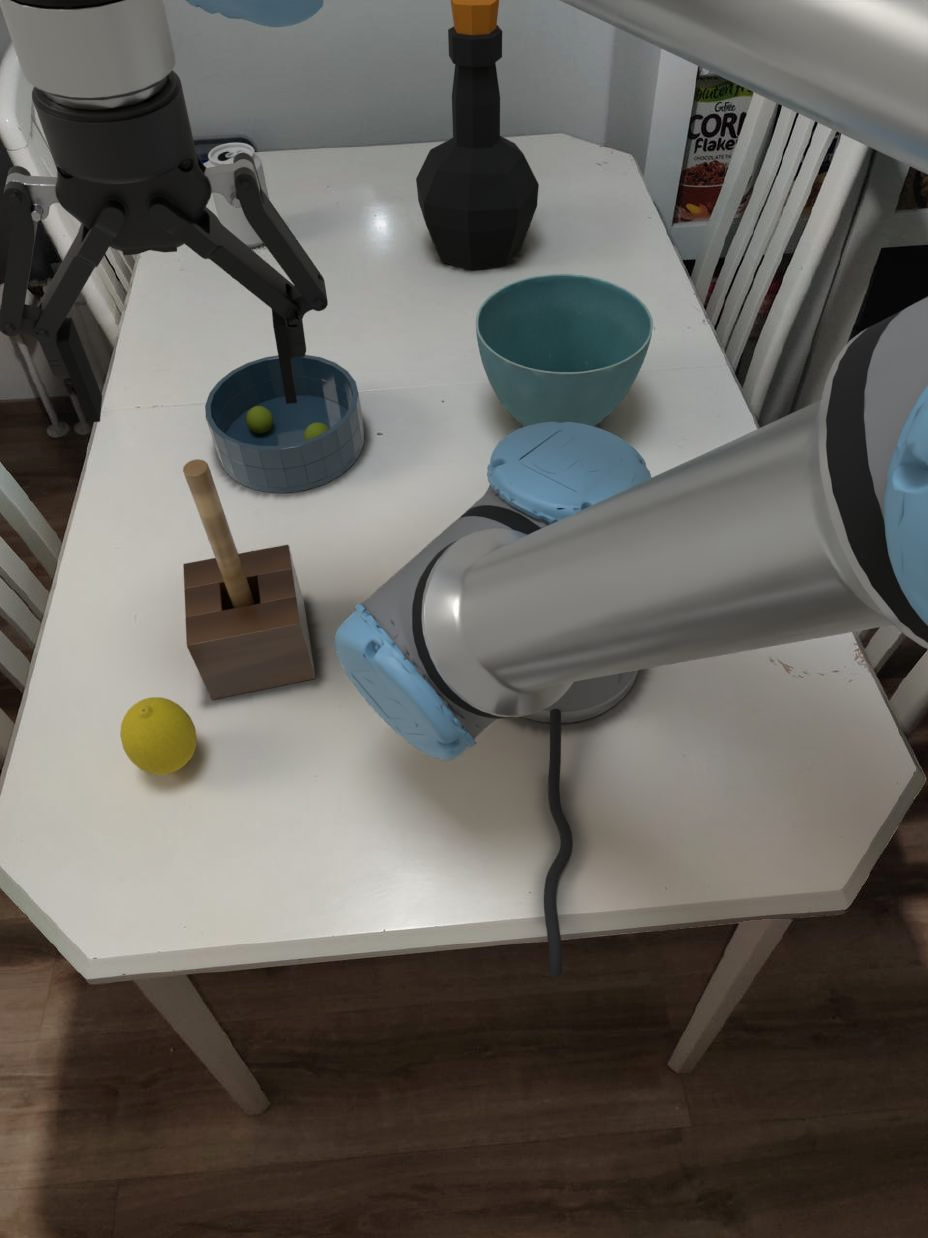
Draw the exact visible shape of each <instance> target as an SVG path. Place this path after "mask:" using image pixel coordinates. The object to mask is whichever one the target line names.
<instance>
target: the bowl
mask: <svg viewBox="0 0 928 1238" xmlns="http://www.w3.org/2000/svg"><path fill="white" fill-rule="evenodd" d="M291 360H292V366H293V373H294V379H295V388H296V398H297V403H291V404H286V398H285V392H284V386H283V380H282V375H281V369H280V363H279V357H278V354H277V355H272V356H265V357H262V358H258V359H255V360H252V361H250V362H245V364H242V365H240V366H238V367H237V368H234V369H233V370H231V371H230V372H228V373H227V374H226V375H224V376H223V377H222V378H221V379H220V380H218V381H217V383H215V385H214V386H213V388H212V389H211V390H210V392H209V393H208V396H207V399H206V402H205V405H204V410H205V421H206V423H207V426H208V429H209V432H210V435H211V438H212V441H213V445H214V447H215V450H216V454H217V456H218V459H219V461H220V463H221V466H222V468H223V469H224V471H225V472H226V473H227V475H228V476H230V477H231V479H233V480H234V481H236V482H237V483H238V484H241V485H243V486H244V487H247V488H249V489H252V490H254V491H255V490H256V491H260V492H264V493H273V494H274V493H275V494H286V493H288V494H289V493H297V492H303V491H307V490H311V489H315V488H317V487H320V486H323V485H325V484H327V483H330V482H331V481H333V480H335V479H337V478H338V477H340V476H342V475H343V474H344V473H345V472H347V471H348V470H349V469H350V468H351V467H352V466H353V465H354V464H355V462H357V460H358V458H359V456H360V455H361V454H362V453H361V452H362V450H363V447H364V443H365V428H364V422H363V421H364V420H363V415H362V408H361V401H360V394H359V389H358V386H357V382H356V380H355V379H354V377H353V376H352V375H351V373H350V372H349V371H348V370H347V369H345V368H344V367H343V366H341V365H340V364H338V363H337V362H334V361H332V360H329V359H327V358H324V357H320V356H317V355H310V354H305V356H304V357H298V358H291ZM255 406H262V407H265V408H267V409H268V410H269V411H270V412H271V414H272V416H273V425H272V427H271V429H270V430H269V431H268V432H266V433H263V434H257V433H254V432H252V431H251V430H250V429H249V428H248V426H247V424H246V414H247V412H248V411H249V410H250V409H251V408H253V407H255ZM316 422H319V423H323V424H325V425H327V426H328V427H329V430H327V431H326V432H324V433H322V434H320V435H319V436H317V437H314V438H311V439H308V440H305V438H304V434H305V430H306V429H307V427H308V426H309V425H311V424H312V423H316Z"/></svg>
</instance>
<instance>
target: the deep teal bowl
mask: <svg viewBox="0 0 928 1238" xmlns="http://www.w3.org/2000/svg"><path fill="white" fill-rule="evenodd" d="M653 320H654V319H653V317H652V315H651V312H650V310H649V309H648V306H646V304H645V303H644V302H643V301H642V300H641V299H640V298H639V297H637V296H636V295H635V294H634V293H633V292H631V291H629V290H628V289H626V288H624V287H622V286H620V285H618V284H615V283H613V282H611V281H608V280H604V279H601V278H597V277H593V276H587V275H582V274H581V275H580V274H572V273H571V274H569V273H553V274H552V273H551V274H542V275H536V276H531V277H526V278H522V279H519V280H516V281H513V282H511V283H509V284H508V283H507V284H506V285H504V286H502V287H501V288H499V289H497V290H496V291H494V292H492V294H491V295H489V296H487V298H486V299H485V300H484V301H483V302H482V303H481V305H480V307H479V309H478V311H477V313H476V318H475V333H476V340H477V347H478V351H479V356H480V360H481V363H482V366H483V369H484V371H485V375H486V377H487V380H488V382H489V384H490V386H491V388H492V390H493V392H494V394H495V395H496V397H497V399H498V400H499V402H500V403H501V405H502V406H503V407H504V408H505V409H506V411H507V412H508V413H509V414H510V415H511V416H512V417H513V418H514V419H515V420H516V421H517V422H518V423H519V424H520V425H521V426H522V427H525V426H528V425H532V424H536V423H543V422H559V423H561V422H575V423H581V424H586V425H590V426H594V427H596V426H597V425H598V424H599V423H600V422H602V421H603V420H604V419H605V418H607V417H608V416H609V415H610V414H612V412H613V411H614V410H615V409H616V408H617V407H618V405H620V403H621V402H622V401H623V400H624V398H625V396H626V395H627V394H628V392H629V391H630V390H631V387H632V386H633V384H634V382H635V381H636V379H637V377H638V375H639V373H640V371H641V369H642V366H643V364H644V362H645V359H646V356H647V354H648V351H649V347H650V344H651V340H652V335H653V330H654V322H653Z"/></svg>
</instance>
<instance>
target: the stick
mask: <svg viewBox="0 0 928 1238" xmlns="http://www.w3.org/2000/svg"><path fill="white" fill-rule="evenodd" d="M182 472H183V475H184V477H185V481H186V483H187V486H188V488H189V491H190V493H191V497H192V499H193V502H194V505H195V507H196V510H197V512H198V515H199V518H200V521H201V524H202V526H203V529H204V531H205V534H206V537H207V540H208V542H209V545H210V547H211V550H212V553H213V556H214V558H215V559H216V561H217V564H218V567H219V569H220V572H221V575H222V577H223V580H224V583H225V586H226V588H227V591H228V594H229V596H230V599H231V602H232V604H233V607H234V608H239V607H245V606H250V605H255V602H254V599H253V596H252V593H251V590H250V587H249V584H248V581H247V578H246V575H245V572H244V569H243V567H242V564H241V561H240V558H239V555H238V554H239V552H238V549H237V546H236V543H235V540H234V537H233V534H232V531H231V528H230V525H229V523H228V520H227V517H226V513H225V511H224V507H223V505H222V502H221V499H220V496H219V493H218V490H217V487H216V484H215V481H214V478H213V475H212V472H211V469H210V466H209V464H208V462H207V461H206V460H203V459H192V460H190V461H188V462H187V463H185V464H184V465H183V467H182Z"/></svg>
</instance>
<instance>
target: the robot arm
mask: <svg viewBox="0 0 928 1238" xmlns="http://www.w3.org/2000/svg"><path fill="white" fill-rule="evenodd" d="M185 1H186V2H187V3H188V4H189V5H190V6H192V7H194V8H200V9H201V10H202V11H204V12H207V13H208V14H211V15H214V14H220V15H221V16H223V17H225V18H227V19H230V20H231V19H233V20H244V21H248V22H249V23H253V24H255V25H259V26H263V27H268V28H287V27H292V26H295V25H298V24H301V23H303V22H305V21H308V20H309V19H311V18H312V17H314V16H315V15H316V14H318V13H319V11H320V10H321V9H322V8H323V6H324V0H185ZM559 1H560V2H562V3H564V4H567V5H569V6H570V7H573V8H574V9H577V10H579V11H582V12H584V13H585V14H588V15H589V16H592V17H594V18H596V19H597V20H600V21H603V22H604V23H607V24H609V25H610V26H612V27H615V28H618V29H619V30H622V31H624V32H626V33H628V34H629V35H632V36H634V37H636V38H638V39H640V40H642V41H645V42H647V43H649V44H651V45H654V46H655V47H657V48H659V49H662V50H664V51H666V52H667V53H670V54H672V55H674V56H676V57H678V58H681V59H682V60H684V61H687V62H689V63H690V64H693V65H695V66H697V67H699V68H702V69H704V70H706V71H707V72H710V73H712V74H715V75H717V76H719V77H721V78H723V79H724V80H727V81H729V82H731V83H733V84H735V85H737V86H739V87H742V88H744V89H746V90H748V91H750V92H753V93H754V94H757V95H759V96H760V97H763V98H765V99H767V100H769V101H772V102H774V103H776V104H778V105H780V106H782V107H784V108H786V109H789V110H790V111H793V112H795V113H797V114H799V115H801V116H803V117H804V118H807V119H808V120H812V121H814V122H815V123H818V124H819V125H822V126H824V127H827V128H828V129H831V130H833V131H835V132H837V133H839V134H840V135H843V136H845V137H848V138H849V139H852V140H853V141H855V142H857V143H860V144H862V145H864V146H867V147H868V148H871V149H872V150H875V151H877V152H879V153H881V154H883V155H885V156H887V157H890V158H892V159H894V160H896V161H898V162H899V163H900V162H901V163H902V164H904V165H906V166H909V167H910V168H913V169H915V170H917V171H919V172H921V173H924V174H926V175H928V0H559ZM0 10H1V12H2V15H3V18H4V21H5V24H6V27H7V30H8V33H9V36H10V39H11V42H12V45H13V48H14V51H15V54H16V57H17V60H18V63H19V66H20V69H21V72H22V75H23V77H24V78H25V80H26V82H28V83H29V84H30V85H32V86H33V88H32V91H31V100H32V103H33V105H34V108H35V112H36V114H37V117H38V120H39V123H40V126H41V128H42V131H43V134H44V137H45V139H46V143H47V145H48V146H47V147H48V148H49V151H50V155H51V157H52V160H53V164H54V165H55V168H56V176H40V175H32V174H31V173H30V171H29V170H28V169H27V168H25V167H23V166H21V165H13V166H12V167H10V168H9V170H8V172H7V176H6V181H5V185H4V188H3V189H4V190H3V193H2V194H3V196H2V197H3V202H4V206H5V208H6V212H7V217H8V219H9V223H10V226H11V230H10V237H9V244H8V252H7V258H6V259H7V260H6V266H5V274H4V281H3V288H2V296H1V304H0V332H1V334H3V335H5V336H7V337H17V336H18V335H19V334H23V335H27V336H30V337H33V338H34V339H35V340H37V341H38V343H39V346H40V348H41V350H42V352H43V354H44V357H45V359H46V361H47V363H48V365H49V367H50V370H51V373H52V374H53V376H55V378H57V379H58V380H63V379H70V382H71V383H72V386H73V389H74V390H75V393H76V395H77V398H78V400H79V403H80V405H81V407H82V410H83V412H84V414H85V418H86V419H87V422H88V424H89V423H100V422H101V415H102V405H103V394H102V392H101V390H100V389H101V388H100V386H99V384H98V382H97V379H96V376H95V374H94V371H93V369H92V365H91V363H90V361H89V359H88V358H89V357H88V356H87V353H86V351H85V348H84V345H83V343H82V341H81V338H80V335H79V333H78V330H77V327H76V324H75V322H74V320H73V317H72V316H71V317H67V316H68V314H69V313H70V312H71V310H72V307H73V306H74V304H75V302H76V300H77V299H78V297H79V296H80V294H81V292H82V290H83V289H84V287H85V286H86V284H87V282H88V281H89V279H90V276H91V275H92V273H93V271H94V270H95V268H97V267H98V266H99V265H100V264H101V262H102V260H103V259H104V258H105V257H104V256H105V255H106V254H107V252H108V250H109V248H112V249H113V250H116V251H119V252H122V254H123V256H134V255H139V254H142V253H145V252H148V251H152V252H153V251H154V252H158V253H177V252H178V248H180V247H181V246H183V245H186V246H187V247H188V248H189V249H191V251H193V252H194V253H195V254H197V255H198V256H199V257H201V258H202V259H204V260H210V261H211V262H212V263H214V264H215V265H216V266H217V267H219V268H220V269H221V270H223V271H224V272H225V273H226V274H228V276H230V277H231V278H232V279H234V280H235V281H236V282H237V283H239V284H240V285H241V286H242V287H244V288H245V289H246V290H248V291H249V292H250V293H251V294H252V295H254V296H255V297H256V298H258V299H259V300H260V301H261V302H263V303H264V304H265V306H267V307H269V308H270V309H271V315H272V316H271V318H272V326H273V327H272V328H273V332H274V333H273V334H274V338H275V345H276V350H277V355H278V357H279V363H280V369H281V375H282V380H283V386H284V392H285V398H286V404H291V403H297V398H296V388H295V379H294V373H293V366H292V360H291V358H298V357H304V356H305V355H306V353H307V345H306V336H305V329H304V323H303V322H304V321H303V319H304V316H305V315H306V314H307V313H309V312H311V311H316V312H321V311H324V310H325V309H327V307H328V305H329V303H328V302H329V301H328V296H327V295H328V294H327V289H326V282H325V278H324V276H323V275H322V274H321V272H320V270H319V269H318V267H317V266H316V265H315V263H314V262H313V260H312V259H311V257H310V256H309V254H308V253H307V251H305V249H304V248H303V246H302V245H301V243H300V242H299V240H298V239H297V237H296V236H295V235H294V233H293V231H292V230H291V229H290V227H289V226H288V225H287V223H286V222H285V220H284V219H283V218H282V216H281V215H280V213H279V212H278V210H277V208H275V206H274V204H273V203H272V201H271V200H270V198H269V199H268V197H267V196H266V194H265V193H264V191H263V190H262V188H261V185H260V181H259V177H258V174H257V170H256V167H255V163H254V160H253V158H252V157H251V156H250V155H249V154H247V153H239V154H237V155H236V156H235V157H234V160H233V163H232V164H226V165H221V166H215V167H209V168H206V165H205V164H204V163H203V162H202V160H201V159H200V157H199V154H198V153H197V150H196V146H195V145H196V144H195V142H194V136H193V131H192V127H191V122H190V118H189V117H190V116H189V113H188V109H187V108H188V107H187V103H186V99H185V95H184V90H183V89H184V88H183V85H182V81H181V78H180V77H179V75H178V74H177V73H176V72H175V71H174V70H173V69H174V68H175V65H176V51H175V47H174V42H173V37H172V33H171V30H170V24H169V20H168V15H167V11H166V7H165V1H164V0H0ZM214 192H216V193H220V194H222V195H223V196H224V197H225V198H226V200H227V201H228V203H229V204H230V205H232V206H233V207H235V208H239V207H242V210H243V213H244V215H245V217H246V219H247V221H248V222H249V224H250V225H251V227H252V228H253V230H254V231H255V232H256V234H257V235H258V236H259V238H260V239H261V241H262V242H263V243H264V244H263V245H264V246H265V247H266V250H268V251H269V253H270V255H272V257H273V258H274V260H275V261H276V262H277V264H278V265H279V267H280V268H281V269H282V270H283V272H284V273H285V275H286V276H287V277H288V279H287V278H286V277H284V275H282V274H281V273H280V272H279V271H278V270H276V269H275V268H274V267H273V266H272V265H270V263H268V261H266V260H265V259H264V258H262V257H261V256H260V255H259V254H258V253H256V252H255V251H254V250H253V249H252V248H249V247H248V246H247V245H246V244H244V243H243V242H242V241H241V240H240V239H239V238H237V237H236V236H235V235H234V234H233V233H231V232H230V231H229V230H228V229H227V228H226V227H224V226H223V225H222V224H221V223H220V221H219V218H218V215H216V214H215V213H214V212H213V211H212V210H210V209H209V208H208V204H209V202H210V199H211V198H212V193H214ZM54 204H59V205H60V206H61V208H63V209H64V210H65V211H66V212H67V213H69V214H70V215H71V216H72V217H73V218H74V219H75V220H77V221H78V222H79V223H80V226H79V228H78V232H77V233H76V236H75V237H74V240H73V241H72V243H71V245H70V247H69V249H68V250H67V252H66V254H65V255H64V258H63V259H62V261H61V263H60V265H59V267H58V268H57V270H56V272H55V274H54V275H53V278H52V279H51V281H50V283H49V284H48V287H47V288H46V290H45V292H44V293H43V295H42V298H41V300H39V299H38V300H37V305H31V304H26V299H27V293H28V288H29V287H28V286H29V280H30V274H31V267H32V260H33V256H34V255H33V254H34V250H35V249H34V248H35V242H36V236H37V229H38V223H39V222H40V221H42V220H45V219H47V218H48V216H49V215H50V208H51V206H52V205H54ZM826 377H827V378H826V380H825V382H824V386H823V390H822V393H821V399H820V400H818V401H816V402H814V403H811V404H809V405H807V406H805V407H803V408H800V409H798V410H796V411H793V412H792V413H790V414H786V415H785V416H782V417H781V418H778V419H776V420H775V421H772V422H770V423H768V424H766V425H763V426H761V427H759V428H756V429H755V430H752V431H750V432H748V433H746V434H744V435H742V436H739V437H737V438H735V439H732V440H731V441H728V442H726V443H724V444H722V445H720V446H718V447H716V448H713V449H711V450H709V451H707V452H705V453H702V454H701V455H698V456H696V457H694V458H691V459H689V460H687V461H685V462H682V463H681V464H679V465H676V466H673V467H671V468H670V469H668V470H665V471H664V472H661V473H659V474H657V475H654V476H652V474H651V471H650V469H648V467H647V463H646V461H645V459H644V457H643V455H641V454H640V453H639V451H638V450H637V449H636V448H635V447H634V446H632V445H631V444H630V443H629V442H627V441H626V440H625V439H623V438H622V437H619V436H618V435H616V434H614V433H613V432H610V431H608V430H605V429H603V428H600V427H597V426H590V425H586V424H581V423H575V422H561V423H559V422H543V423H536V424H532V425H528V426H525V427H524V426H522V427H520V428H517V429H515V430H514V431H512V432H509V433H508V434H507V435H505V436H504V437H503V438H502V439H500V440H499V442H498V443H497V444H496V446H495V447H494V448H493V451H492V453H491V456H490V459H489V460H490V461H489V464H488V465H487V468H486V469H487V473H486V476H487V482H488V483H489V484H488V487H487V490H486V491H485V493H484V494H483V495H482V496H481V498H479V499H478V500H477V501H475V503H474V504H473V505H471V506H470V507H469V508H468V509H467V510H466V511H465V512H464V513H463V514H462V515H460V516H459V517H458V518H457V519H455V521H453V522H452V523H451V524H450V525H449V526H447V527H446V528H445V529H444V530H443V531H442V532H441V533H440V534H438V535H437V536H436V537H435V538H433V540H432V541H430V543H428V544H427V545H426V546H425V547H424V548H422V549H421V550H420V551H419V552H418V553H417V554H416V555H415V556H414V557H412V558H411V559H410V560H408V562H407V563H406V564H405V565H403V566H402V567H401V568H400V569H399V570H397V572H396V573H394V575H392V576H391V577H390V578H389V579H388V580H387V581H386V582H384V583H383V584H382V585H381V586H380V587H379V588H378V589H377V590H375V591H374V592H373V593H372V594H371V595H369V596H368V597H367V598H366V599H365V600H364V601H363V602H362V603H361V602H358V603H357V604H355V607H354V610H353V612H352V613H351V614H349V616H348V617H347V618H346V619H345V620H344V621H343V622H342V623H341V624H340V625H339V627H338V628H337V630H336V633H335V636H334V648H335V649H334V650H335V653H336V656H337V659H338V661H339V663H340V665H341V666H342V669H343V671H344V673H345V674H346V676H347V678H348V679H349V681H350V682H351V684H352V685H353V686H354V688H355V689H356V690H357V692H358V693H359V694H360V695H361V697H362V698H363V699H364V700H365V701H366V703H367V704H368V705H369V706H370V708H372V710H373V711H374V712H375V713H376V714H377V715H378V717H380V718H381V719H382V720H383V721H384V722H385V723H386V724H387V725H388V726H389V727H390V728H391V729H392V730H394V731H395V733H397V734H398V736H400V737H401V738H402V739H404V740H405V741H406V742H407V743H409V744H410V745H411V746H412V747H414V748H415V749H417V750H418V751H420V752H421V753H422V754H425V755H427V756H429V757H431V758H433V759H436V760H438V761H445V762H447V761H448V762H449V761H454V760H455V759H458V758H459V757H461V755H462V754H464V752H465V751H466V750H468V748H474V747H475V746H476V744H477V741H476V740H475V739H476V738H477V737H478V736H479V735H480V734H482V732H483V731H484V730H485V729H486V728H488V727H489V726H490V725H491V724H492V723H494V722H495V721H497V720H498V721H499V720H505V719H511V718H519V717H522V718H525V719H528V720H532V721H536V722H541V723H549V759H548V761H549V762H548V779H547V782H548V783H547V792H548V793H547V794H548V796H547V797H548V804H549V809H550V812H551V816H552V818H553V820H554V823H555V825H556V827H557V830H558V832H559V833H558V834H559V837H560V843H559V844H560V845H559V850H558V852H557V855H556V857H555V858H554V861H553V862H552V864H551V865H550V867H549V870H548V872H547V874H546V877H545V881H544V888H543V911H544V920H545V921H544V922H545V927H546V934H547V945H548V972H549V976H551V977H552V978H553V979H555V978H559V977H560V976H561V975H562V968H563V967H562V964H563V961H562V960H563V953H562V952H563V951H562V950H563V949H562V948H563V947H562V937H561V929H560V923H559V917H558V907H557V891H558V884H559V881H560V877H561V875H562V873H563V871H564V869H565V868H566V866H567V864H568V862H569V860H570V858H571V855H572V851H573V845H574V843H573V842H574V841H573V840H574V839H573V834H572V829H571V827H570V824H569V822H568V820H567V817H566V814H565V813H564V810H563V806H562V802H561V801H562V800H561V793H560V792H561V788H560V787H561V786H560V785H561V784H560V783H561V768H562V767H561V766H562V765H561V763H562V724H569V723H575V722H582V721H585V720H589V719H592V718H595V717H597V716H599V715H601V714H604V713H606V712H607V711H610V709H612V708H613V707H615V706H616V705H617V704H618V703H620V702H621V701H622V700H623V699H624V698H625V696H626V695H627V694H628V693H629V691H630V690H631V689H632V687H633V685H634V683H635V682H636V678H637V677H638V673H639V671H641V670H647V669H652V668H657V667H664V666H669V665H675V664H680V663H687V662H692V661H697V660H703V659H709V658H714V657H719V656H726V655H731V654H737V653H743V652H747V651H753V650H760V649H763V648H764V649H766V648H770V647H776V646H782V645H788V644H792V643H793V644H794V643H798V642H805V641H810V640H815V639H822V638H826V637H832V636H837V635H843V634H850V633H855V632H861V631H865V630H866V631H867V630H871V629H878V628H883V627H888V626H894V627H895V628H896V629H897V630H899V631H900V632H901V633H902V634H903V635H904V636H906V637H907V638H909V639H910V640H912V641H913V642H914V643H916V644H918V645H919V646H920V647H923V648H924V649H927V650H928V296H926V297H924V298H922V299H921V300H919V301H917V302H914V303H913V304H911V305H909V306H907V307H906V308H904V309H902V310H900V311H898V312H896V313H894V314H892V315H891V316H888V317H887V318H885V319H883V320H880V321H879V322H876V323H875V324H872V325H870V326H869V327H867V328H865V329H864V330H862V331H860V332H859V333H858V334H856V335H855V336H854V337H853V338H851V339H850V340H849V341H848V342H847V343H846V344H845V345H844V347H843V348H842V349H841V350H840V351H839V353H838V355H837V356H836V358H835V360H834V361H833V362H832V365H831V367H830V369H829V372H828V375H827V376H826Z"/></svg>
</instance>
